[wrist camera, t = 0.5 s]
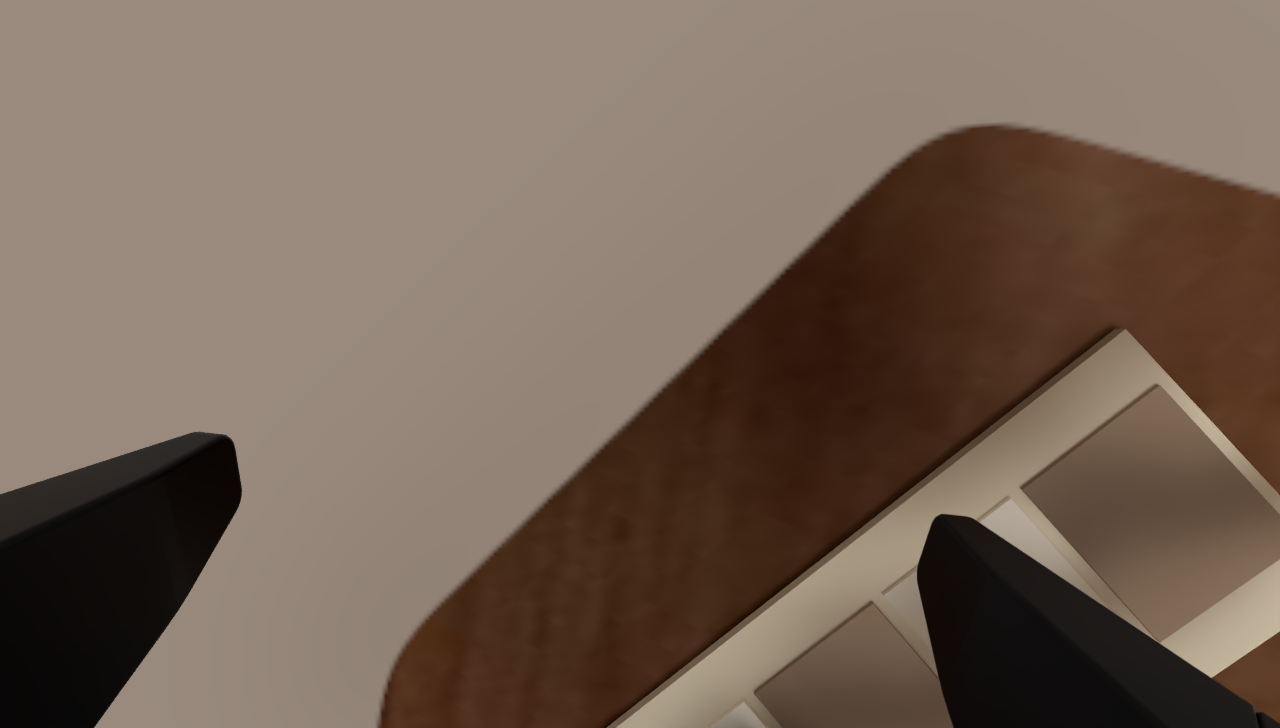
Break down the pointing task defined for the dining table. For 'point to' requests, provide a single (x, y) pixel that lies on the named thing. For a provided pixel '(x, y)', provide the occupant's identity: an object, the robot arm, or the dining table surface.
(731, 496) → the dining table surface
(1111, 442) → the game strip
